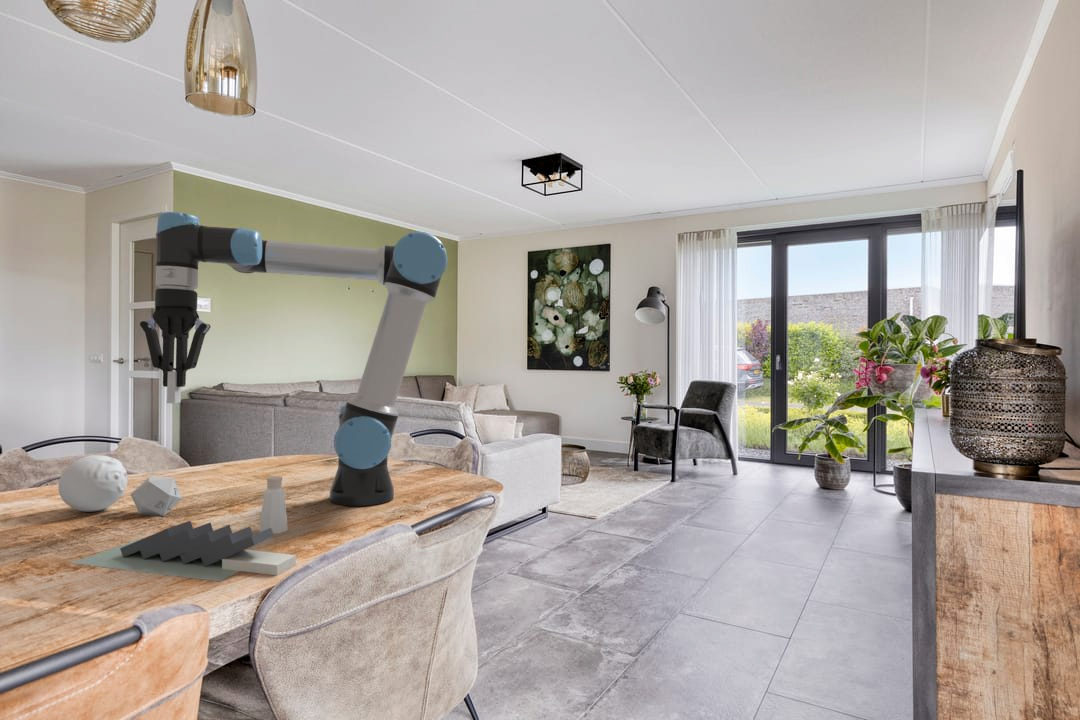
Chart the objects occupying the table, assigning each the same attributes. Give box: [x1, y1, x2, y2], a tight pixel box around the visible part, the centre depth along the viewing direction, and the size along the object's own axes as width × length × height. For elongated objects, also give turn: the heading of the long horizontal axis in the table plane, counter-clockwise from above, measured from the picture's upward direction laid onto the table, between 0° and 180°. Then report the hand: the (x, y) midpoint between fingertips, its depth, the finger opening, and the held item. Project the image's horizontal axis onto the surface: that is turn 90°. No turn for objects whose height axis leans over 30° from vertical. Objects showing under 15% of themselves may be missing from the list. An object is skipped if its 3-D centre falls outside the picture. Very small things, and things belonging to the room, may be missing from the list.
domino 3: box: [159, 524, 233, 562], centre depth 102 cm, size 2×5×10 cm
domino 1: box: [120, 520, 194, 557], centre depth 103 cm, size 2×5×10 cm
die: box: [130, 476, 183, 517], centre depth 131 cm, size 8×9×10 cm
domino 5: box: [201, 528, 275, 566], centre depth 100 cm, size 2×5×10 cm
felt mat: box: [70, 537, 277, 582], centre depth 103 cm, size 28×14×1 cm, turn 78°
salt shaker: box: [258, 475, 288, 535], centre depth 120 cm, size 5×5×11 cm
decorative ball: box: [58, 454, 128, 513], centre depth 131 cm, size 12×12×12 cm
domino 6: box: [222, 549, 297, 576], centre depth 99 cm, size 2×5×10 cm
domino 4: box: [180, 525, 254, 564], centre depth 101 cm, size 2×5×10 cm
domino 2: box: [140, 522, 214, 559], centre depth 103 cm, size 2×5×10 cm
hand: (173, 402), depth 126 cm, fingers closed
